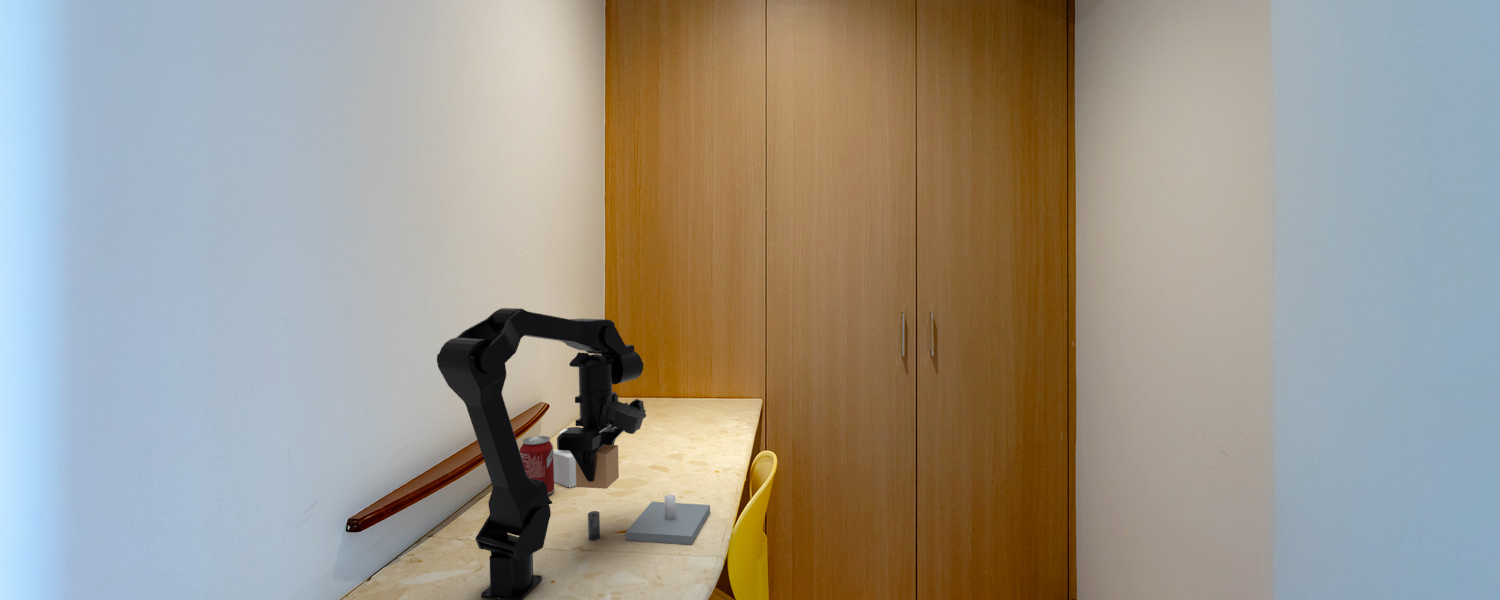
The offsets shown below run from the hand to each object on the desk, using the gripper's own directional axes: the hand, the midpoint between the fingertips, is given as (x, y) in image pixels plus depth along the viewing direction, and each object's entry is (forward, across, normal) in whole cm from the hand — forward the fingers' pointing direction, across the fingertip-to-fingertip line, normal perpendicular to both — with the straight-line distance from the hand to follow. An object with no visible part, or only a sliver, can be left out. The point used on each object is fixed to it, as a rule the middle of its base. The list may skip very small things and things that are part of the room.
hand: (597, 475), depth 106 cm
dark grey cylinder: (+11, 0, +1) cm, 11 cm away
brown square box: (+1, 0, 0) cm, 1 cm away
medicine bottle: (+12, +27, +18) cm, 34 cm away
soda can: (+12, +18, +22) cm, 30 cm away
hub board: (+11, +6, -11) cm, 17 cm away
